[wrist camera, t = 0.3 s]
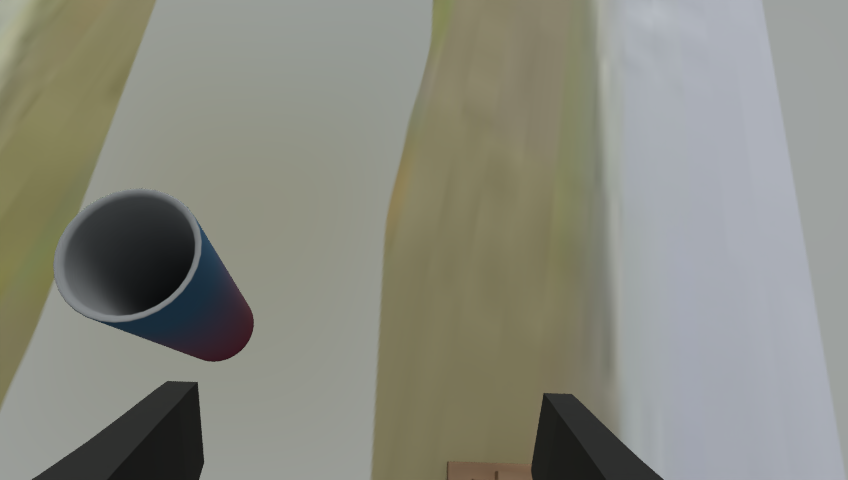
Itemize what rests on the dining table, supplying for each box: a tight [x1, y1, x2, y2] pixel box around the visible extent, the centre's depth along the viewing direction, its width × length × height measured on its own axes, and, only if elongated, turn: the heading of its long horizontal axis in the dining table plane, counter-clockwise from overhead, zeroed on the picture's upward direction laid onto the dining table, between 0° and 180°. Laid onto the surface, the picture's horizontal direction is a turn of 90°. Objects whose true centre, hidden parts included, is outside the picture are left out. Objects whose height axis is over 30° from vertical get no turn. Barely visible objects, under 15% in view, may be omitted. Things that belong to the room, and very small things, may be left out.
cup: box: [53, 189, 254, 362], centre depth 35 cm, size 7×7×15 cm
